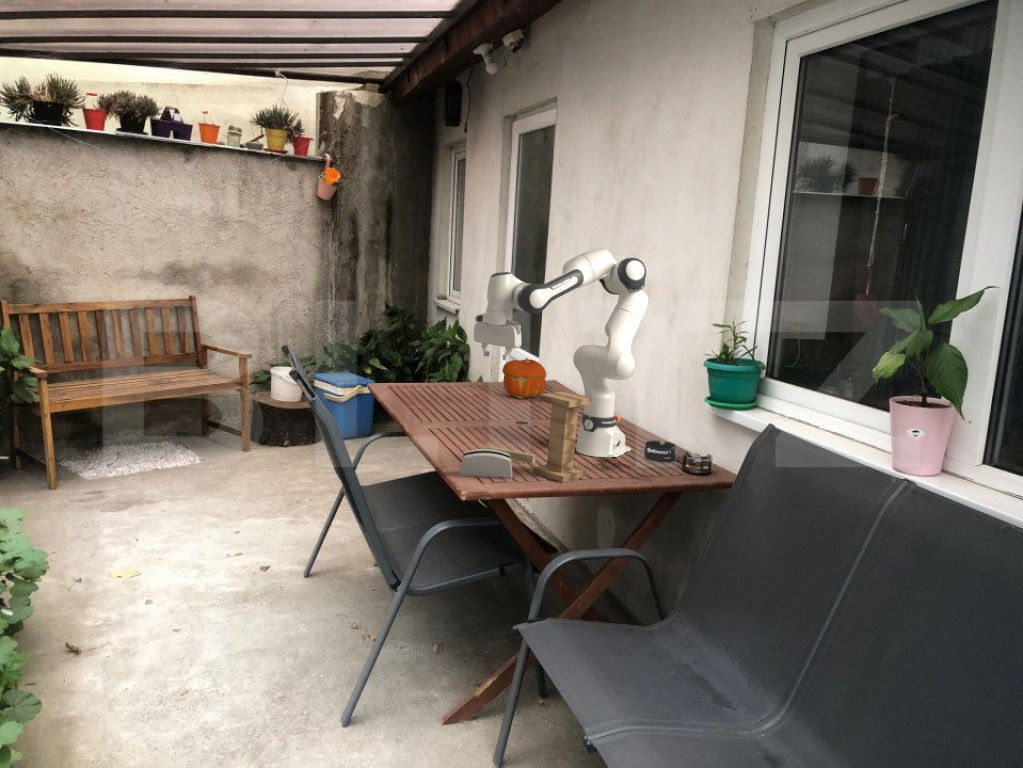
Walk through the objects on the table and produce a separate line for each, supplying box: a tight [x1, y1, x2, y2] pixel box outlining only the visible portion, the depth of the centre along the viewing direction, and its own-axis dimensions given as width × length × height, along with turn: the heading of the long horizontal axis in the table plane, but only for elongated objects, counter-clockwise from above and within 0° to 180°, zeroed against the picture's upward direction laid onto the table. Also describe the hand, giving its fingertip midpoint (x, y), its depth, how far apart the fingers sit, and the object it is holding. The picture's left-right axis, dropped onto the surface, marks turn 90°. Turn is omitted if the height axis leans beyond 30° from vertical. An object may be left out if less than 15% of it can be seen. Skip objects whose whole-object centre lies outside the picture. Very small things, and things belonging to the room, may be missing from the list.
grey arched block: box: [459, 448, 513, 479], centre depth 228 cm, size 17×5×10 cm, turn 92°
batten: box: [481, 445, 536, 465], centre depth 249 cm, size 2×19×3 cm, turn 67°
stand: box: [532, 391, 592, 484], centre depth 233 cm, size 12×12×26 cm
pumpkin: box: [502, 357, 547, 398], centre depth 364 cm, size 23×23×20 cm
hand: (495, 358), depth 255 cm, fingers open, 8 cm apart
